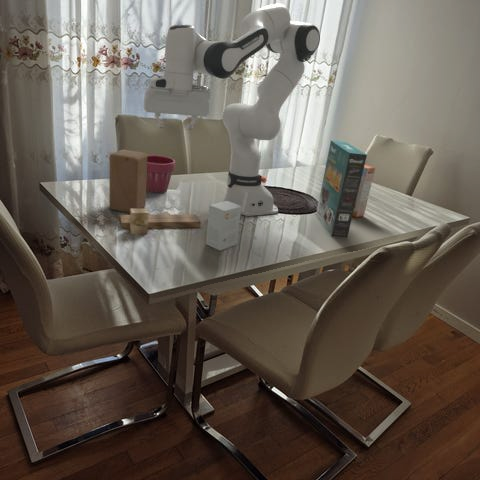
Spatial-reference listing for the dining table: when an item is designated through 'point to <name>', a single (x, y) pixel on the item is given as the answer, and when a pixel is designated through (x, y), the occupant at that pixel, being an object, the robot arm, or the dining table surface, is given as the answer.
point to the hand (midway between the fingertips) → (175, 128)
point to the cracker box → (363, 191)
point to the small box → (223, 225)
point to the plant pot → (159, 173)
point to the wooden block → (128, 180)
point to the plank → (166, 221)
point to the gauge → (139, 221)
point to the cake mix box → (340, 187)
